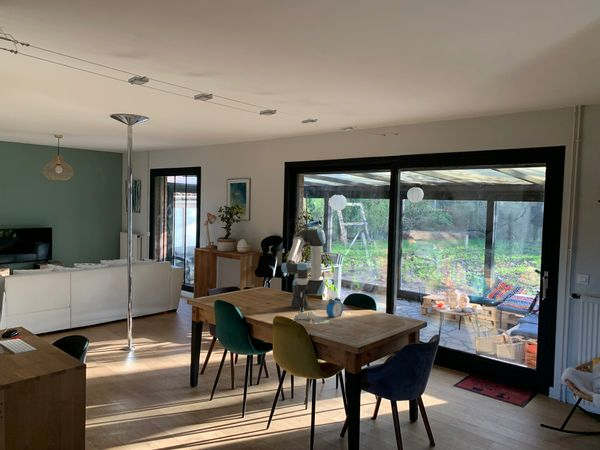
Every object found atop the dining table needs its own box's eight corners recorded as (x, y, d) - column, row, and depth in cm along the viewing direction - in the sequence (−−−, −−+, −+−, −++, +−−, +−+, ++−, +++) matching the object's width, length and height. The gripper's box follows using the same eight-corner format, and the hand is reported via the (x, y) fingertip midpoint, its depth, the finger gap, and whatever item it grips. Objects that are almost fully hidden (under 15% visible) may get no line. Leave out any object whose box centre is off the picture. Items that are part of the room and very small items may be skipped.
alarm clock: (332, 320, 340) (332, 299, 339) (325, 318, 344) (325, 298, 344) (343, 317, 349) (343, 297, 349) (336, 315, 354) (337, 296, 353)
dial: (298, 318, 338) (298, 309, 338) (316, 318, 337) (316, 310, 337) (296, 323, 323) (296, 314, 323) (314, 324, 322) (314, 315, 321)
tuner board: (295, 317, 347) (295, 315, 347) (330, 318, 344) (330, 316, 344) (291, 325, 323) (291, 323, 323) (329, 327, 320) (329, 324, 320)
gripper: (298, 282, 344) (297, 313, 345) (296, 285, 331) (295, 317, 332) (308, 282, 343) (307, 314, 344) (306, 285, 330) (306, 318, 331)
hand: (301, 316), depth 338 cm, fingers closed
